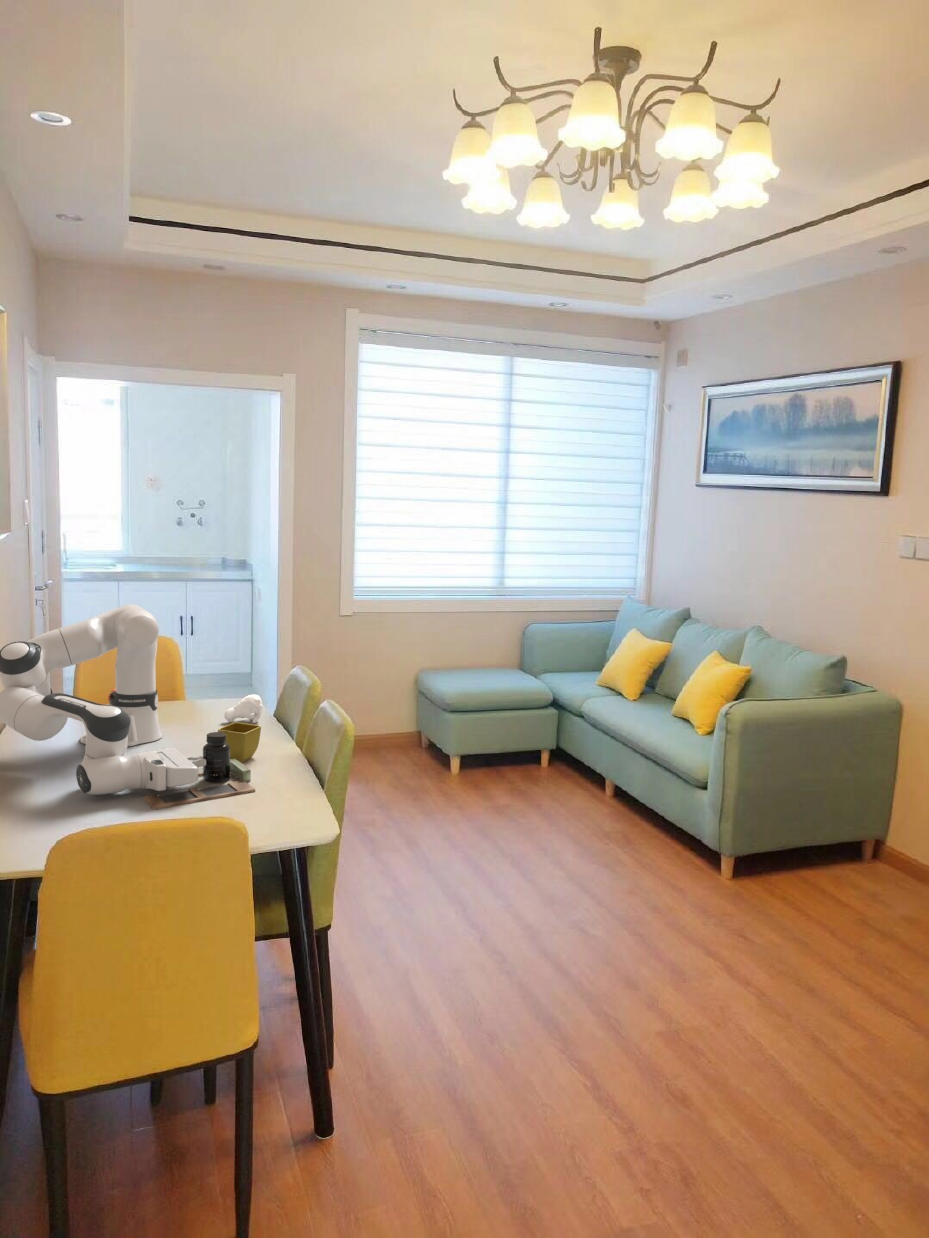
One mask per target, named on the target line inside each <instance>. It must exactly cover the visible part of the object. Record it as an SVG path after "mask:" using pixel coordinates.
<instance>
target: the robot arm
mask: <svg viewBox="0 0 929 1238" xmlns="http://www.w3.org/2000/svg"><path fill="white" fill-rule="evenodd" d="M159 631H160V630H159V623H158V620H157V619H156V617H155V616H154V615H153V614H152V613H150V612H149V611H147V610H146V609H144V608H143V607H141V606H140V605H137V604H133V603H131V604H125V605H122V606H119V607H116V608H113V609H111V610H110V609H109V610H108V611H105V612H103V613H100V614H98V615H96V616H93V617H91V618H88V619H86V620H85V619H84V620H82V621H79V622H76V623H73V624H72V623H71V624H69V625H65V626H62V627H58V628H55V629H52V630H50V631H47V632H45V633H42V634H39V635H37V636H35V637H33V638H31V639H29V640H27V641H24V640H23V641H21V640H20V641H14V642H10V643H7V644H6V645H4V646H3V647H1V649H0V681H1V684H2V687H3V688H4V689H2V690H1V691H0V720H1V721H2V722H3V723H4V724H5V725H7V726H8V727H9V728H10V729H12V730H14V731H15V732H17V733H18V734H19V735H22V736H24V737H25V738H27V739H30V740H33V741H36V742H38V741H39V742H40V741H42V742H43V741H46V740H49V739H53V738H54V737H56V735H58V734H59V733H60V732H61V731H62V730H63V729H64V727H65V726H66V724H67V722H68V718H70V719H72V720H75V721H79V722H82V724H83V725H84V729H85V732H84V733H83V734H82V735H81V736H80V743H81V744H84V745H85V748H84V749H85V750H84V757H83V760H82V762H80V763H79V764H78V765H77V766H76V770H75V771H76V772H75V776H76V781H77V785H78V788H79V790H81V791H82V793H83V794H86V795H95V796H96V795H97V796H98V795H107V794H108V795H110V794H115V793H121V792H124V791H127V790H141V789H150V790H154V791H158V792H162V791H163V792H164V791H166V790H167V788H174V787H180V786H186V785H190V784H191V785H192V784H193V783H195V782H196V783H197V781H198V780H199V776H198V773H199V768H200V767H203V766H206V759H204V758H203V755H201V756H189V755H187V756H184V755H183V754H182V753H181V752H180V751H179V750H177V749H176V748H175V747H166V748H159V749H153V750H147V751H139V752H133V753H130V754H127V752H128V747H133V746H137V745H141V744H146V743H150V742H154V741H155V742H156V741H158V740H160V739H161V738H162V737H163V732H162V729H161V726H160V722H159V716H158V706H159V695H158V689H156V687H157V686H156V685H157V684H156V683H157V682H156V659H157V652H158V643H159V642H158V641H159ZM115 649H116V658H115V667H114V671H115V674H114V675H115V677H114V678H115V688H114V689H112V690H111V691H110V693H109V695H108V696H107V701H108V703H109V704H103V703H102V704H101V703H100V702H99V703H98V702H95V701H92V700H89V699H85V698H82V697H79V696H75V695H71V694H68V693H60V692H56V693H55V692H54V693H53V690H52V688H51V682H50V678H49V674H48V673H50V672H51V671H55V670H61V669H65V668H69V667H71V666H75V665H78V664H81V663H84V662H87V661H90V660H93V659H97V658H100V657H102V656H104V654H106V653H108V652H111V651H112V650H115Z"/></svg>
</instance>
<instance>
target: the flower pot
mask: <svg viewBox="0 0 929 1238" xmlns="http://www.w3.org/2000/svg"><path fill="white" fill-rule="evenodd" d="M261 730H262V725H257V724H250V723H244V722H237V721H234V722H233V723H232V722H231V723H228V724H227V725H225V726H222V727H220V728H218V729H217V732H223V733H225V734H226V742H225V743H227V744H228V745H229V746H230V759H236V760H238V761H239V762H240V763H242V762H245V761H247V760H249V759H252V757H253V756H254V754H255V753H256V751H257V749H258V747H259V744H260V738H261V732H262V731H261Z"/></svg>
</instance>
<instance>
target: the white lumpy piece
mask: <svg viewBox="0 0 929 1238" xmlns="http://www.w3.org/2000/svg"><path fill="white" fill-rule="evenodd" d="M262 710H263V701H262V699H261V697H260V696H259V695H258V694H249V695H246V696H244V698H242V699H240V700H239V702H237V703H236V705H234V706H233V707H230V708H227V710H225V711H224V715H223V716H224V719H225V720H226V721H227V722H228V724H231V723H234V722H235V720H236V719H238V718H240V719H245V718H246V719H248V720H252V723H253V724H256V723H257V722H258V721H259V720H260V719H261V716H262ZM230 722H231V723H230Z"/></svg>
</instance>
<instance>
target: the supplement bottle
mask: <svg viewBox="0 0 929 1238" xmlns="http://www.w3.org/2000/svg"><path fill="white" fill-rule="evenodd" d="M205 740H206V744H205V745H204V746H203V747H202V757H203V758H204V759H206V766H202V772H203V776H202V777H203V781H205V782H207V783H209V784H218V783H219V784H220V783H224V782H227V781H229V780H230V778H231V773H230V746H229V745H228V744H227V743H225V742H226V734H225V733H223V732H218V731H213V732H209V733H207V734H206V739H205Z"/></svg>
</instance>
